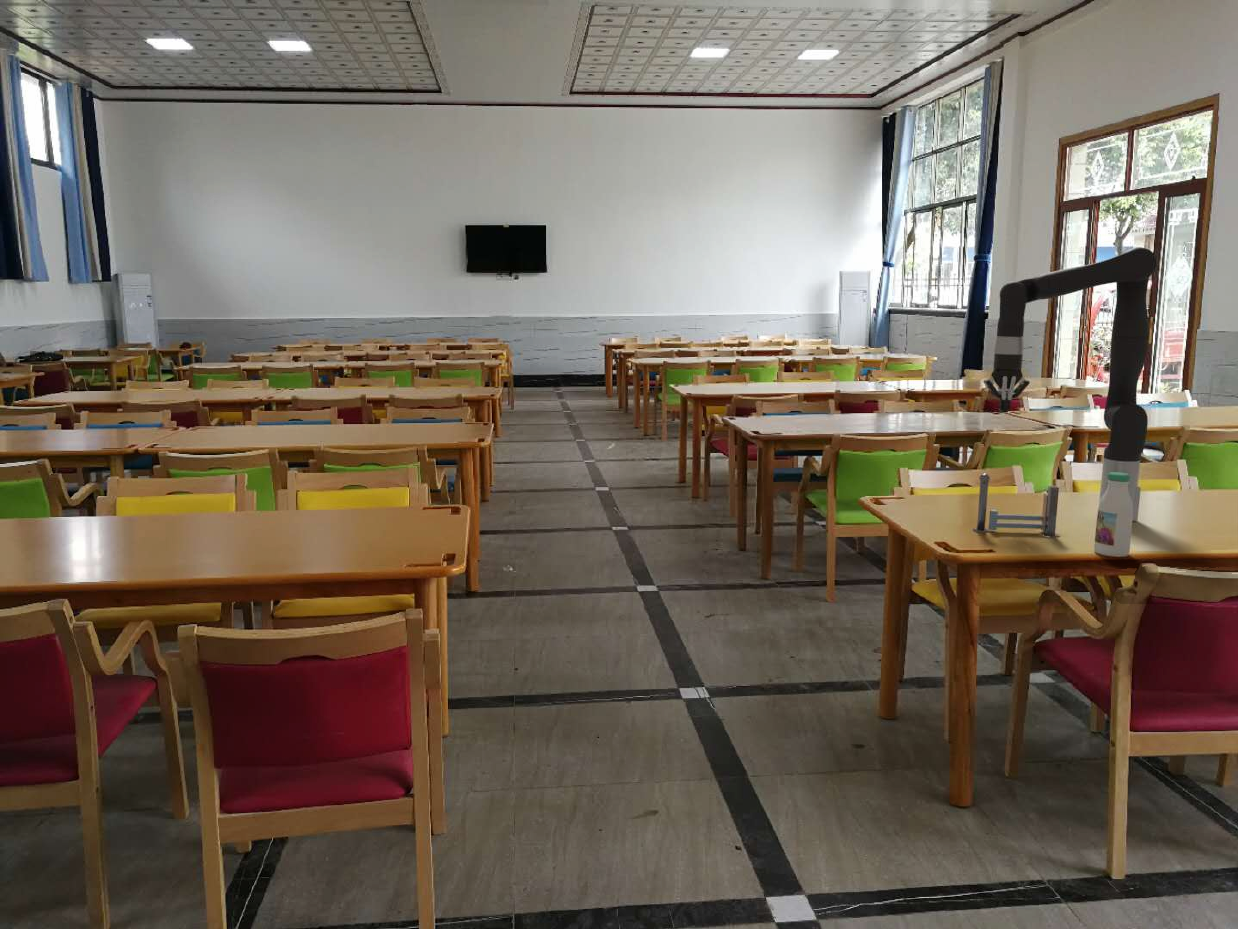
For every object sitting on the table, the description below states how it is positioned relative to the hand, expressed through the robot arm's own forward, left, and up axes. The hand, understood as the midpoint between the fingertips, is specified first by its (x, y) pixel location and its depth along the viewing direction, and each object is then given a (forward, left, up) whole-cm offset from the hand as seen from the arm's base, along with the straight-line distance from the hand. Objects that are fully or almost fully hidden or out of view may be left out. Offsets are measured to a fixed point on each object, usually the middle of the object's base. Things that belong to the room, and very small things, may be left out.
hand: (1004, 412), depth 275 cm
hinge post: (+14, +26, -29) cm, 41 cm away
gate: (+4, +27, -29) cm, 39 cm away
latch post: (-3, +30, -29) cm, 42 cm away
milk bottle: (-10, +48, -29) cm, 57 cm away
